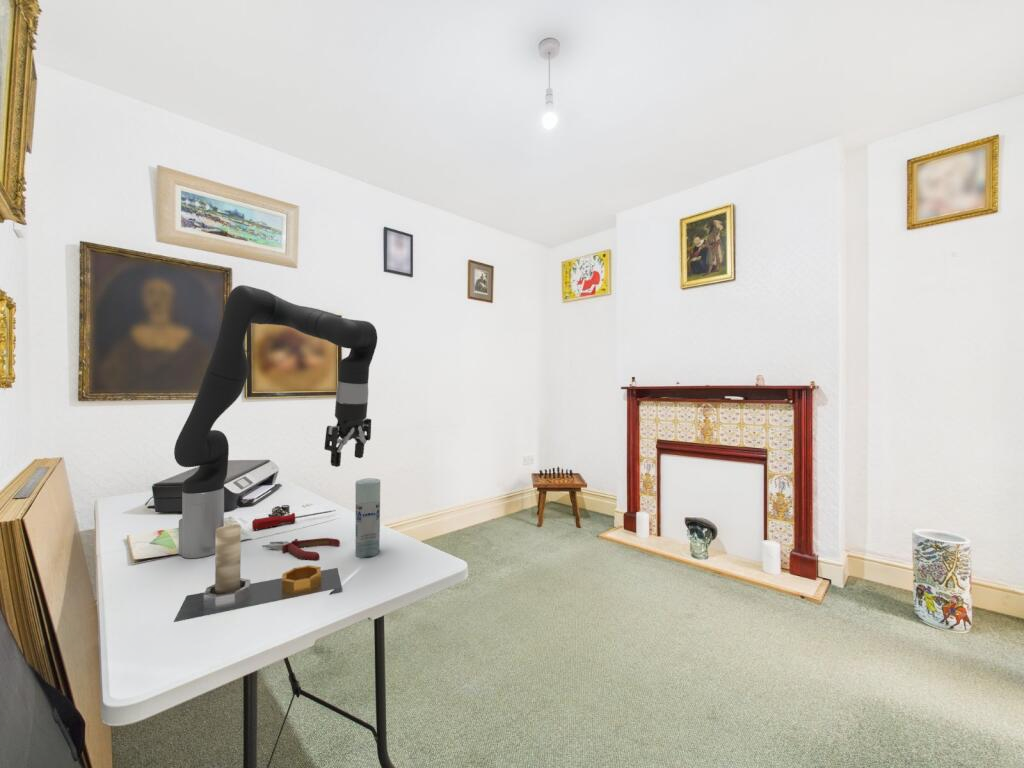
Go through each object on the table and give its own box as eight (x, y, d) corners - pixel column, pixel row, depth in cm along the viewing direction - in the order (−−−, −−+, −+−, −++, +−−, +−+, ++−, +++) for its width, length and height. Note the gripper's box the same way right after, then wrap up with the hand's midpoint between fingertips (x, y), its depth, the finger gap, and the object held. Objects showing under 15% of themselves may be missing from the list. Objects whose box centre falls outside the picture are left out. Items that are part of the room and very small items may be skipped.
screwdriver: (336, 516, 145) (336, 506, 145) (253, 532, 130) (253, 520, 130) (334, 514, 148) (334, 504, 148) (251, 529, 133) (252, 518, 133)
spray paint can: (354, 550, 116) (354, 479, 116) (378, 547, 119) (378, 477, 119) (355, 560, 110) (356, 484, 110) (381, 555, 113) (382, 482, 113)
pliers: (280, 541, 124) (280, 532, 124) (341, 546, 120) (341, 537, 120) (249, 557, 113) (249, 547, 113) (316, 563, 109) (316, 554, 109)
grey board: (173, 627, 79) (173, 608, 79) (186, 600, 89) (186, 584, 89) (341, 591, 93) (342, 576, 93) (337, 571, 103) (337, 557, 103)
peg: (209, 603, 86) (210, 531, 86) (226, 592, 90) (227, 524, 90) (229, 605, 86) (229, 532, 86) (245, 594, 90) (245, 525, 90)
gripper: (358, 394, 112) (354, 452, 114) (318, 400, 99) (314, 465, 101) (381, 398, 110) (377, 457, 112) (344, 405, 97) (339, 472, 99)
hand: (347, 461), depth 106 cm, fingers open, 8 cm apart
